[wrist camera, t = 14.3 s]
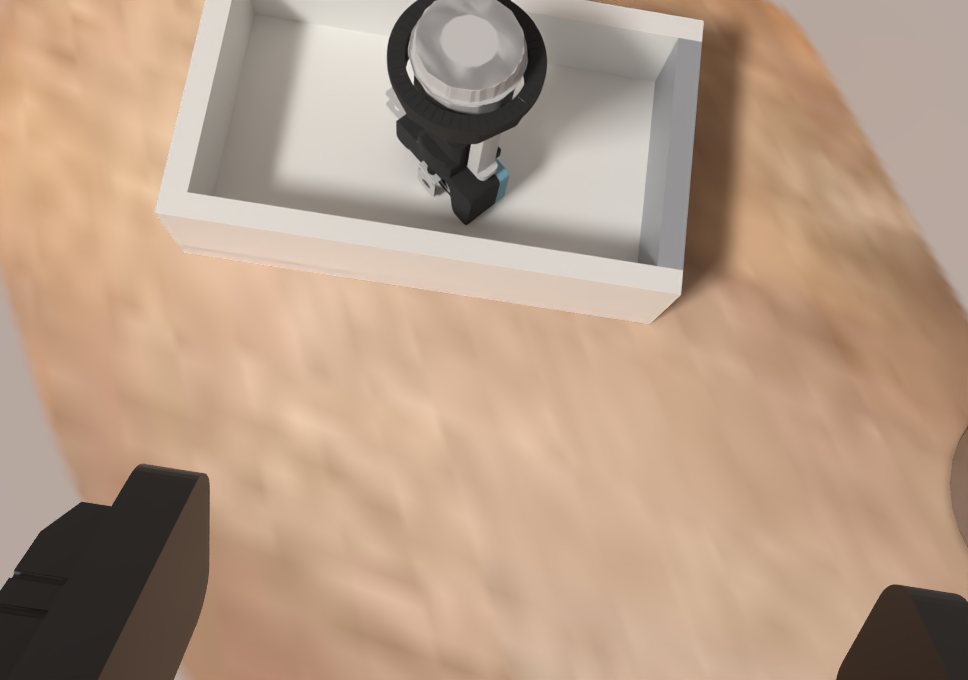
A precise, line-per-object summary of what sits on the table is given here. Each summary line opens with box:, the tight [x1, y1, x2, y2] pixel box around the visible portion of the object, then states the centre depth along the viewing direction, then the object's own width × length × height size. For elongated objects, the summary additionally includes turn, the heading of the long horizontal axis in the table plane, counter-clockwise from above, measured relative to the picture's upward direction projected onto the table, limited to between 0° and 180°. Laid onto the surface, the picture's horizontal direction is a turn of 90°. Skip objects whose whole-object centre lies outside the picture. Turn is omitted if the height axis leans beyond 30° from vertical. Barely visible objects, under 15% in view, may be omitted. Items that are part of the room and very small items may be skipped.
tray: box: [154, 0, 704, 324], centre depth 37 cm, size 20×12×4 cm, turn 82°
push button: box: [386, 0, 547, 225], centre depth 34 cm, size 7×5×10 cm
